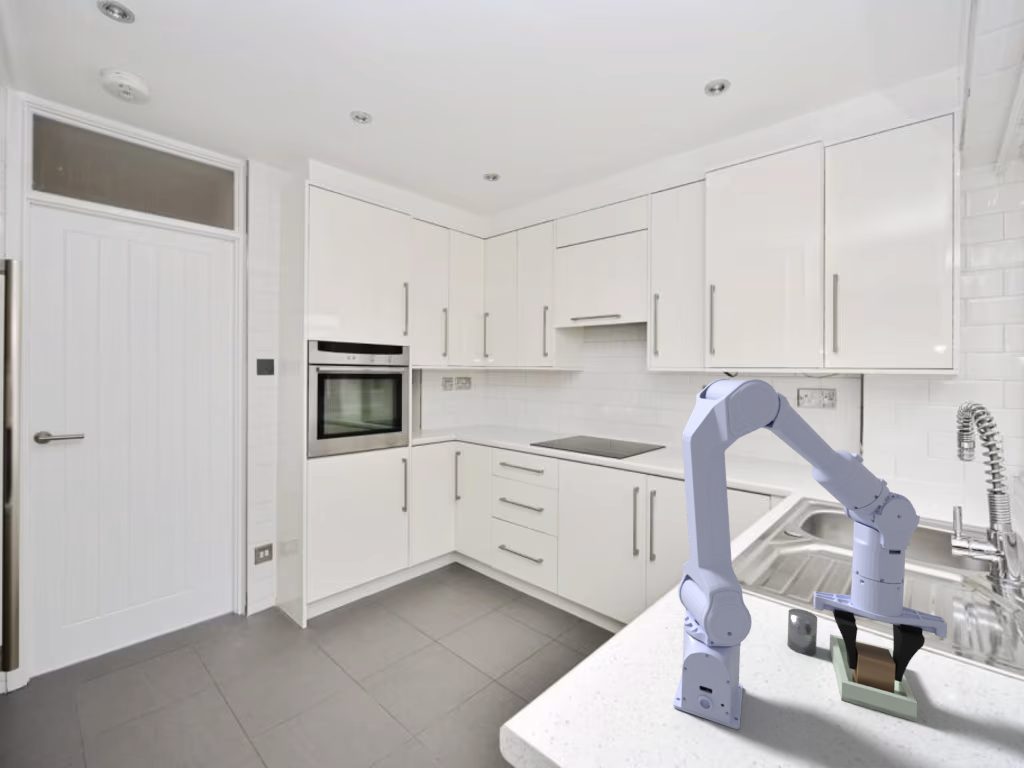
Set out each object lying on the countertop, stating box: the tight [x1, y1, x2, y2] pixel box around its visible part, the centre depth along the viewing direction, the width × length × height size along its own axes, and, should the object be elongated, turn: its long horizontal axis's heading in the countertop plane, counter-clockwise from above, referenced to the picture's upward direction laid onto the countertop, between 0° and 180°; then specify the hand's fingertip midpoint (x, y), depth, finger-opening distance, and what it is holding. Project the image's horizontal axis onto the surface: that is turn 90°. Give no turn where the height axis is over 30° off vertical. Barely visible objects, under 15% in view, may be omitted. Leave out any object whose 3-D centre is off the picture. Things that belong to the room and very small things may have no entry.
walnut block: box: [853, 642, 895, 693], centre depth 65 cm, size 4×4×6 cm
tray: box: [829, 633, 918, 723], centre depth 68 cm, size 14×8×2 cm, turn 151°
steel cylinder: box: [787, 608, 818, 656], centre depth 76 cm, size 4×4×6 cm
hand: (873, 671), depth 65 cm, fingers open, 4 cm apart
